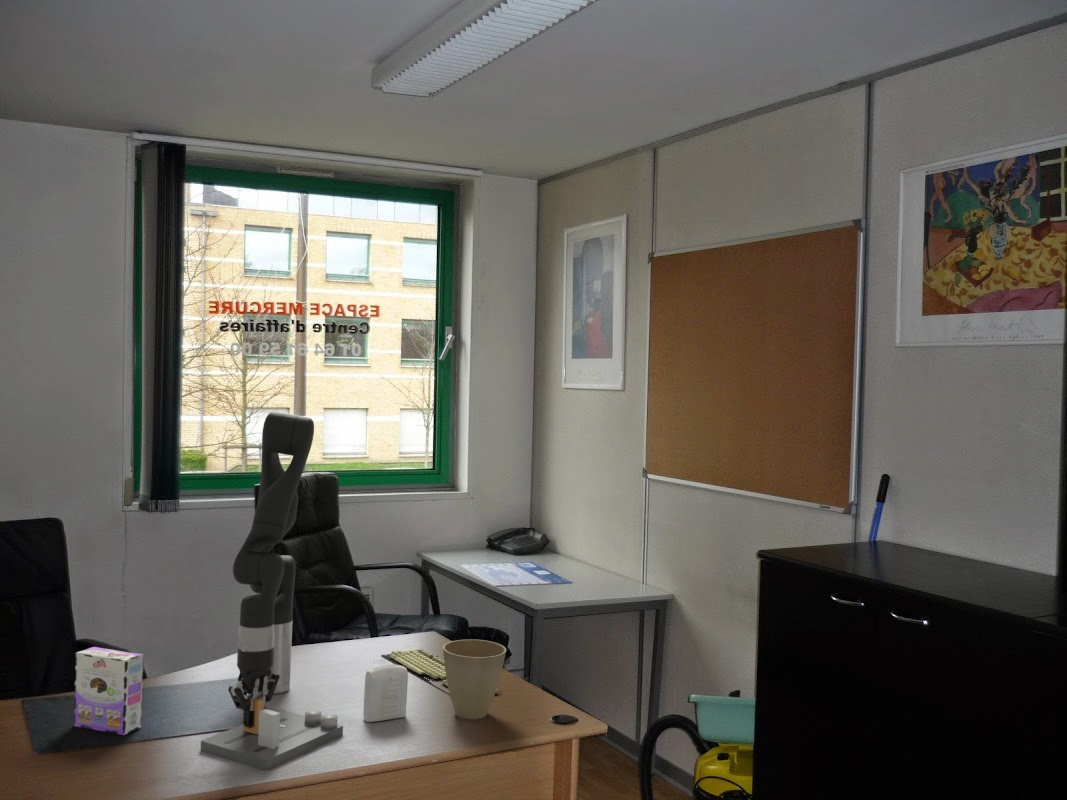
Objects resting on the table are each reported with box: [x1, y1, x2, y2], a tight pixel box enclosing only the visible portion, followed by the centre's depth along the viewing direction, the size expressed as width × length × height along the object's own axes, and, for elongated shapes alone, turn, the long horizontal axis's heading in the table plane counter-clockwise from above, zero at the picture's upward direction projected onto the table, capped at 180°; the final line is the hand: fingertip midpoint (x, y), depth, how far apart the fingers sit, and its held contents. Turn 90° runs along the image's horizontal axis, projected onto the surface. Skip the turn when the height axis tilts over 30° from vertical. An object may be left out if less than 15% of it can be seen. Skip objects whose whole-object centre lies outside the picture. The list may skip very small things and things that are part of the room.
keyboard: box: [381, 648, 503, 696], centre depth 273 cm, size 45×15×2 cm, turn 35°
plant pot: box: [442, 639, 507, 720], centre depth 242 cm, size 15×15×16 cm
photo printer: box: [362, 664, 409, 723], centre depth 237 cm, size 10×4×12 cm, turn 123°
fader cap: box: [242, 698, 265, 734], centre depth 219 cm, size 4×2×7 cm, turn 62°
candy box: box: [73, 646, 144, 736], centre depth 223 cm, size 14×6×16 cm, turn 71°
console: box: [200, 708, 344, 771], centre depth 219 cm, size 18×24×9 cm
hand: (252, 725), depth 219 cm, fingers closed on fader cap, 2 cm apart
